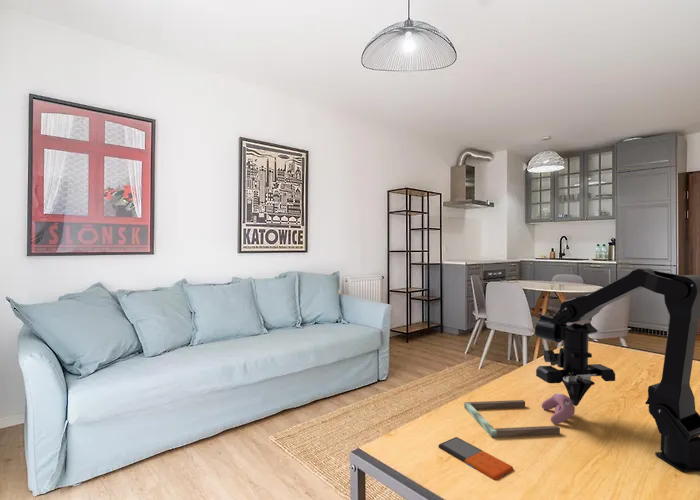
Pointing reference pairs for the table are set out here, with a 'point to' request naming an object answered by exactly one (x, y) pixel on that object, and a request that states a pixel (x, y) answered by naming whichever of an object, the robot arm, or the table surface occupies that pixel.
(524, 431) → the u-shaped rail frame
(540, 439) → the table surface
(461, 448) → the two-tone rubber eraser
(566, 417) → the video game controller
